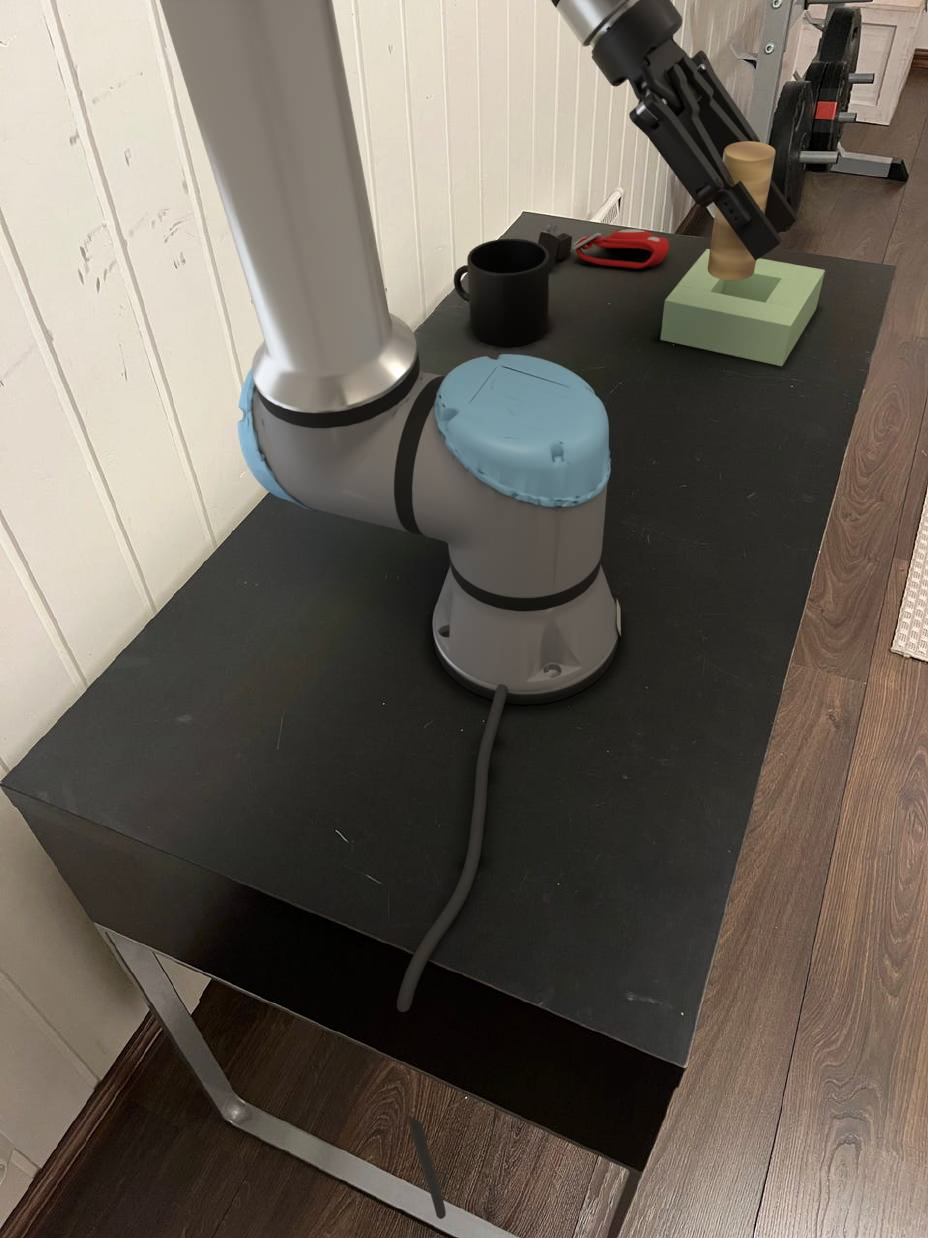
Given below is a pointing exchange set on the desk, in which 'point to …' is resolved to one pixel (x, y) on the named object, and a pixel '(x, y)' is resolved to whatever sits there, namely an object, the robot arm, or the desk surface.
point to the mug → (507, 291)
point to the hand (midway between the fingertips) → (776, 238)
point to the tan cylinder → (755, 173)
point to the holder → (743, 310)
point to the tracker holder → (625, 240)
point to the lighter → (555, 244)
